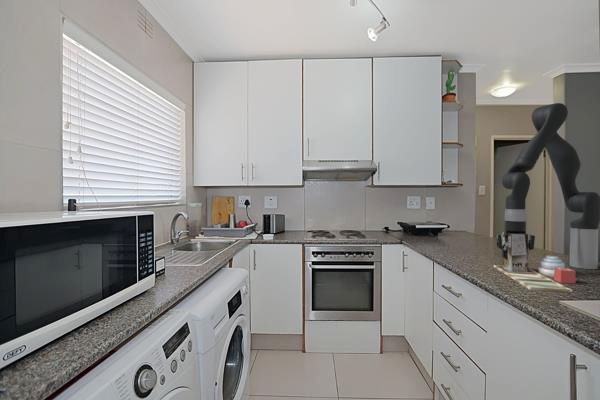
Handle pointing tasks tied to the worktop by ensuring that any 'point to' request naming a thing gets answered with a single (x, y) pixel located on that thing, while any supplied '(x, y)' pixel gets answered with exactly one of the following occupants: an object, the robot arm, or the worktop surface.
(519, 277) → the wooden divided tray
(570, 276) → the red die
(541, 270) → the dome base
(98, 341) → the worktop surface
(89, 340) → the worktop surface
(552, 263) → the dome
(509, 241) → the coffee box
